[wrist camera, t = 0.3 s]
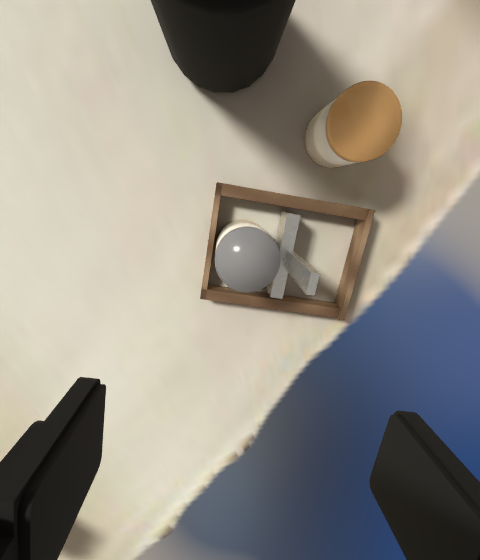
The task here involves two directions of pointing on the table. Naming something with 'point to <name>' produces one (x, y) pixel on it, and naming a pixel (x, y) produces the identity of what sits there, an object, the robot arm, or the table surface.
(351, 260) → the brown wooden frame
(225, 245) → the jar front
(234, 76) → the coffee jar
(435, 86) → the table surface
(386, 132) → the jar
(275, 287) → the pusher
